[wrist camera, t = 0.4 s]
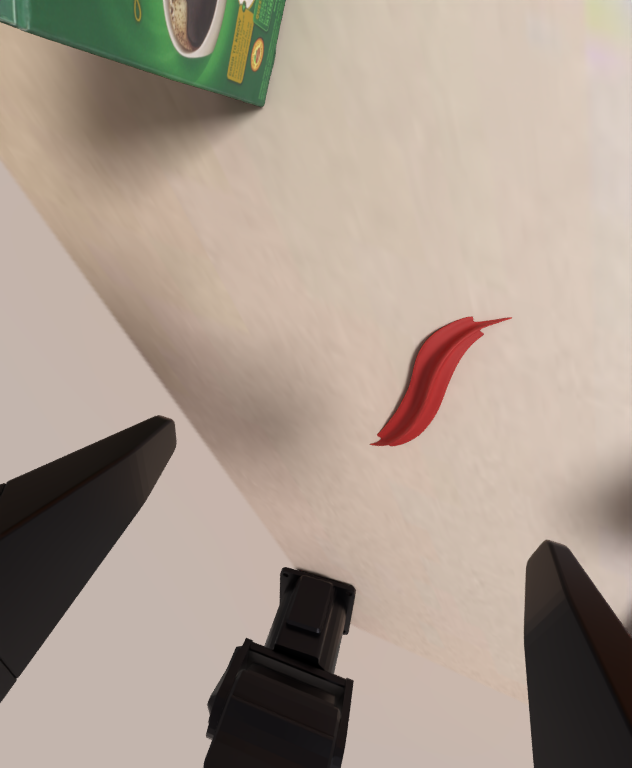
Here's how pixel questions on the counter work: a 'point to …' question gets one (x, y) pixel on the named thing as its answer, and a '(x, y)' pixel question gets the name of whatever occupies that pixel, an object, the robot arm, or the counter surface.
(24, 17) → the coffee box
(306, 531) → the counter surface
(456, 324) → the cayenne pepper
